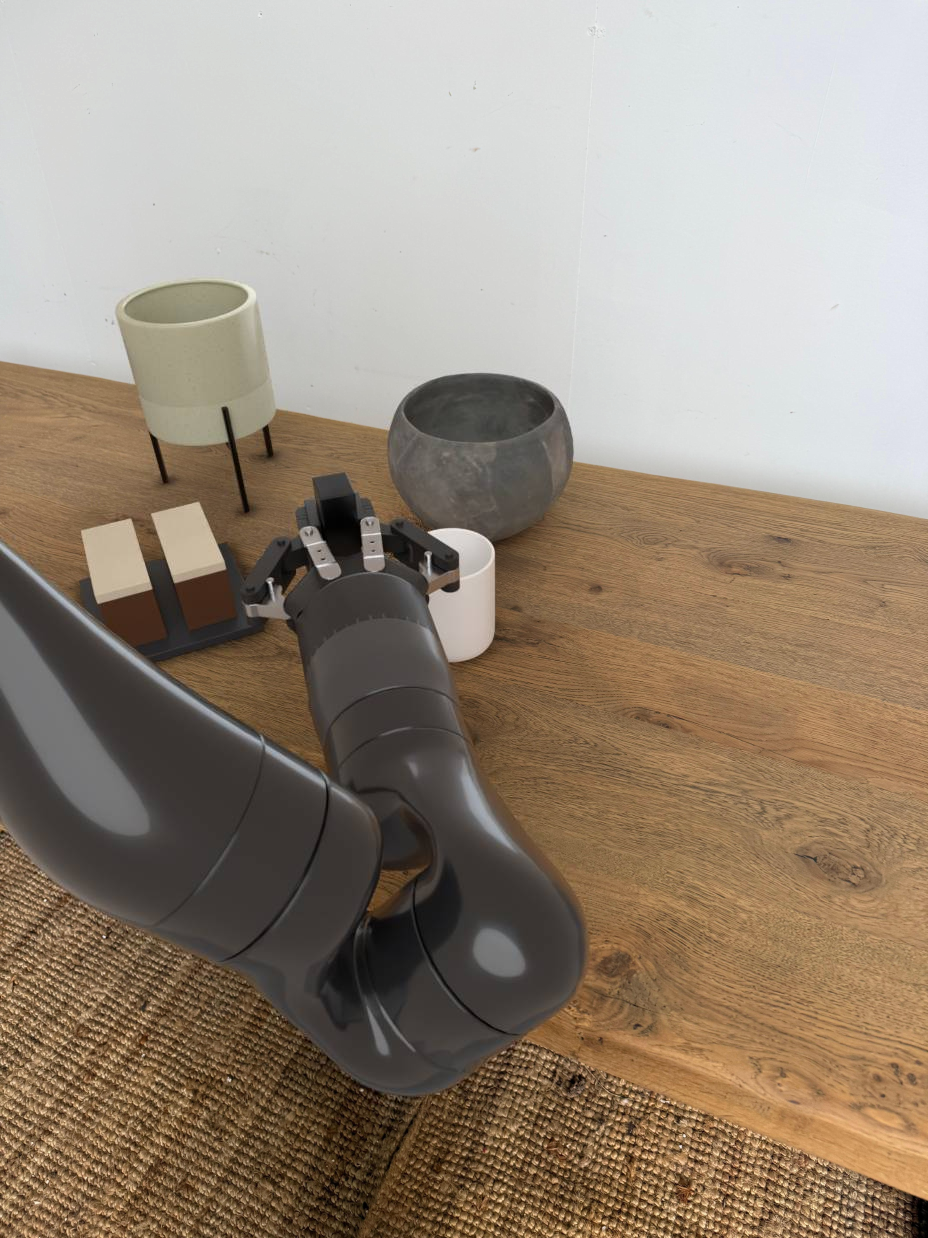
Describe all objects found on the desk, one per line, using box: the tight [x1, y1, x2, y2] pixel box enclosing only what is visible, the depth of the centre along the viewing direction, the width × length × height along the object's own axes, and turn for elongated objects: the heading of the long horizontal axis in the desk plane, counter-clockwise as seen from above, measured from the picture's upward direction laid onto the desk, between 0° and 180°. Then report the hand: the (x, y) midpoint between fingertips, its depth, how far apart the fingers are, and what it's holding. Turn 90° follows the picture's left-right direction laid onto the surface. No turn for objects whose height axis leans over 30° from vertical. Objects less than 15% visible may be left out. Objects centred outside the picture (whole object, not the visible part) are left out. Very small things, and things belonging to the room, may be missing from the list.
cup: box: [405, 528, 496, 663], centre depth 81 cm, size 8×12×10 cm
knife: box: [311, 471, 363, 557], centre depth 59 cm, size 2×6×16 cm, turn 18°
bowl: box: [386, 372, 575, 543], centre depth 97 cm, size 20×20×15 cm
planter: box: [114, 277, 277, 514], centre depth 103 cm, size 15×16×23 cm
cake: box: [79, 501, 265, 664], centre depth 88 cm, size 16×16×8 cm
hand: (331, 507), depth 58 cm, fingers closed on knife, 2 cm apart
